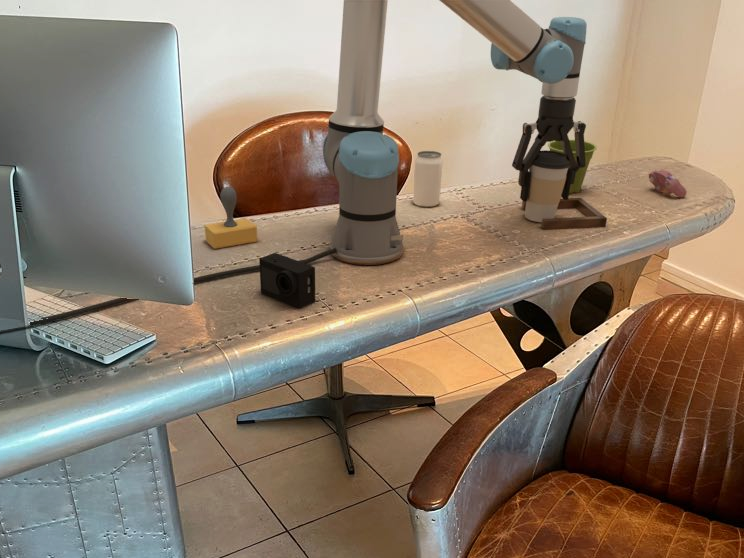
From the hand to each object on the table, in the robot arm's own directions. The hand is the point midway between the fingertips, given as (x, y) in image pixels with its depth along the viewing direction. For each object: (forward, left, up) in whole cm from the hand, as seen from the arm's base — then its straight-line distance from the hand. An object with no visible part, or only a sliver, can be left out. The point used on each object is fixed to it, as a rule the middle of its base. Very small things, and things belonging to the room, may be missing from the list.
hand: (543, 198), depth 187 cm
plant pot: (+14, +20, -5) cm, 25 cm away
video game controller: (+38, +14, -5) cm, 41 cm away
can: (-24, +14, -5) cm, 28 cm away
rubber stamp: (-72, -6, -5) cm, 73 cm away
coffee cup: (-1, 0, -5) cm, 5 cm away
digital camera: (-63, -37, -5) cm, 73 cm away
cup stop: (+5, 0, -5) cm, 7 cm away
